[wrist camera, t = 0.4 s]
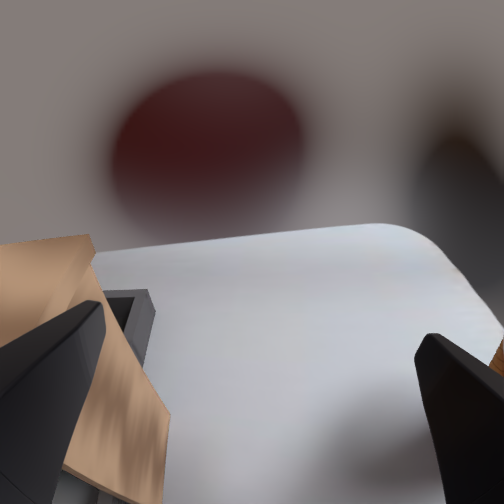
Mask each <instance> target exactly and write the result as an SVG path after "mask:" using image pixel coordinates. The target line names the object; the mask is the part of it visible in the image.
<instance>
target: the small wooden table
mask: <svg viewBox="0 0 504 504" xmlns="http://www.w3.org/2000/svg"><path fill="white" fill-rule="evenodd" d="M95 254H96V252H95V249H94V247H93V244H92V241H91V239H90V236H89V234H85V235H77V236H68V237H59V238H50V239H42V240H34V241H27V242H19V243H11V244H5V245H0V347H2V346H4V345H5V344H7V343H9V342H11V341H12V340H14V339H16V338H18V337H20V336H21V335H23V334H25V333H27V332H28V331H30V330H32V329H34V328H36V327H37V326H39V325H41V324H43V323H45V322H47V321H48V320H50V319H52V318H54V317H56V316H58V315H59V314H61V313H63V312H65V311H67V310H69V309H70V308H72V307H74V306H76V305H78V304H80V303H82V302H83V301H85V300H94V301H99V302H101V303H102V305H103V308H104V315H105V322H106V335H105V339H104V342H103V346H102V349H101V352H100V356H99V359H98V363H97V367H96V370H95V374H94V378H93V381H92V384H91V387H90V390H89V392H88V395H87V397H86V400H85V403H84V405H83V408H82V410H81V413H80V416H79V419H78V421H77V424H76V427H75V430H74V433H73V436H72V438H71V441H70V444H69V447H68V450H67V453H66V456H65V460H64V463H63V466H62V469H63V470H65V471H67V472H68V473H70V474H72V475H74V476H75V477H77V478H79V479H81V480H83V481H84V482H86V483H88V484H90V485H92V486H94V487H96V488H98V489H100V490H102V491H104V492H106V493H108V494H110V495H113V496H115V497H117V498H119V499H121V500H124V501H126V502H128V503H131V504H162V496H163V483H164V471H165V460H166V450H167V440H168V430H169V421H170V413H169V411H168V410H167V408H166V407H165V405H164V404H163V402H162V400H161V399H160V397H159V396H158V394H157V392H156V391H155V389H154V387H153V386H152V384H151V382H150V381H149V379H148V377H147V376H146V374H145V372H144V371H143V369H142V367H141V365H140V364H139V362H138V360H137V358H136V356H135V355H134V353H133V351H132V349H131V347H130V345H129V344H128V342H127V340H126V338H125V336H124V334H123V332H122V330H121V328H120V326H119V324H118V322H117V320H116V318H115V316H114V314H113V312H112V310H111V308H110V306H109V304H108V302H107V300H106V298H105V295H104V293H103V291H102V289H101V287H100V285H99V282H98V280H97V278H96V275H95V273H94V271H93V268H92V266H91V264H90V263H91V261H92V259H93V257H94V255H95Z"/></svg>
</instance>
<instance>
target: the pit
mask: <svg viewBox="0 0 504 504" xmlns="http://www.w3.org/2000/svg"><path fill="white" fill-rule="evenodd" d="M103 293H104V295H105V298H106V300H107V302H108V304H109V306H110V308H111V310H112V312H113V314H114V316H115V318H116V320H117V322H118V324H119V326H120V328H121V330H122V332H123V334H124V336H125V338H126V340H127V342H128V344H129V345H130V347H131V349H132V351H133V353H134V355H135V356H136V358H137V360H138V362H139V364H140V365H141V367H142V368H143V364H144V359H145V355H146V350H147V346H148V341H149V337H150V333H151V328H152V324H153V320H154V316H155V312H156V311H155V309H154V306H153V303H152V301H151V298H150V295H149V292H148V290H147V289H137V290H110V291H103Z"/></svg>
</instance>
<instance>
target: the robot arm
mask: <svg viewBox="0 0 504 504" xmlns="http://www.w3.org/2000/svg"><path fill="white" fill-rule="evenodd" d="M105 335H106V322H105V315H104V308H103V305H102V303H101V302H99V301H94V300H85V301H83V302H82V303H80V304H78V305H76V306H74V307H72V308H70V309H69V310H67V311H65V312H63V313H61V314H59V315H58V316H56V317H54V318H52V319H50V320H48V321H47V322H45V323H43V324H41V325H39V326H37V327H36V328H34V329H32V330H30V331H28V332H27V333H25V334H23V335H21V336H20V337H18V338H16V339H14V340H12V341H11V342H9V343H7V344H5V345H4V346H2V347H0V504H52V500H53V496H54V493H55V489H56V486H57V482H58V479H59V476H60V472H61V469H62V466H63V463H64V460H65V456H66V453H67V450H68V447H69V444H70V441H71V438H72V436H73V433H74V430H75V427H76V424H77V421H78V419H79V416H80V413H81V410H82V408H83V405H84V403H85V400H86V397H87V395H88V392H89V390H90V387H91V384H92V381H93V378H94V374H95V370H96V367H97V363H98V359H99V356H100V352H101V349H102V346H103V342H104V339H105ZM414 362H415V367H416V372H417V376H418V381H419V386H420V391H421V397H422V401H423V406H424V410H425V413H426V417H427V420H428V424H429V428H430V432H431V435H432V439H433V443H434V448H435V452H436V456H437V460H438V465H439V469H440V474H441V479H442V484H443V489H444V494H445V500H446V504H504V377H503V376H501V375H500V374H499V373H497V372H496V371H494V370H493V369H491V368H490V367H488V366H487V365H485V364H484V363H482V362H481V361H480V360H478V359H477V358H475V357H474V356H472V355H471V354H469V353H468V352H466V351H465V350H463V349H462V348H460V347H459V346H457V345H456V344H454V343H453V342H451V341H450V340H448V339H447V338H445V337H444V336H442V335H441V334H438V333H429V334H427V335H426V336H425V337H424V339H423V341H422V342H421V344H420V346H419V348H418V350H417V352H416V354H415V357H414Z"/></svg>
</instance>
